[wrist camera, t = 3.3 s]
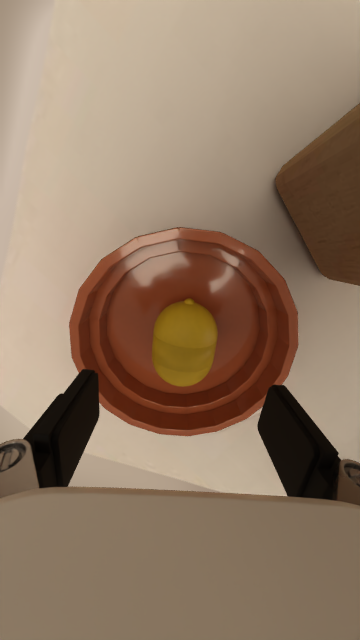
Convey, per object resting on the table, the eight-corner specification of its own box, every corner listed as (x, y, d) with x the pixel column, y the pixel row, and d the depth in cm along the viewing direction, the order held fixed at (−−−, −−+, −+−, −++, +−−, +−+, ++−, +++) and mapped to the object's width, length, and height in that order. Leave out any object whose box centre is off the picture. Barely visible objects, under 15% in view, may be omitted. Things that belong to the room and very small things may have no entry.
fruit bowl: (89, 221, 17) (59, 212, 12) (295, 245, 17) (332, 245, 13) (96, 394, 23) (76, 428, 18) (249, 406, 23) (265, 442, 19)
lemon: (159, 288, 18) (152, 304, 13) (217, 294, 18) (231, 312, 13) (153, 364, 21) (145, 401, 16) (204, 369, 21) (212, 406, 16)
